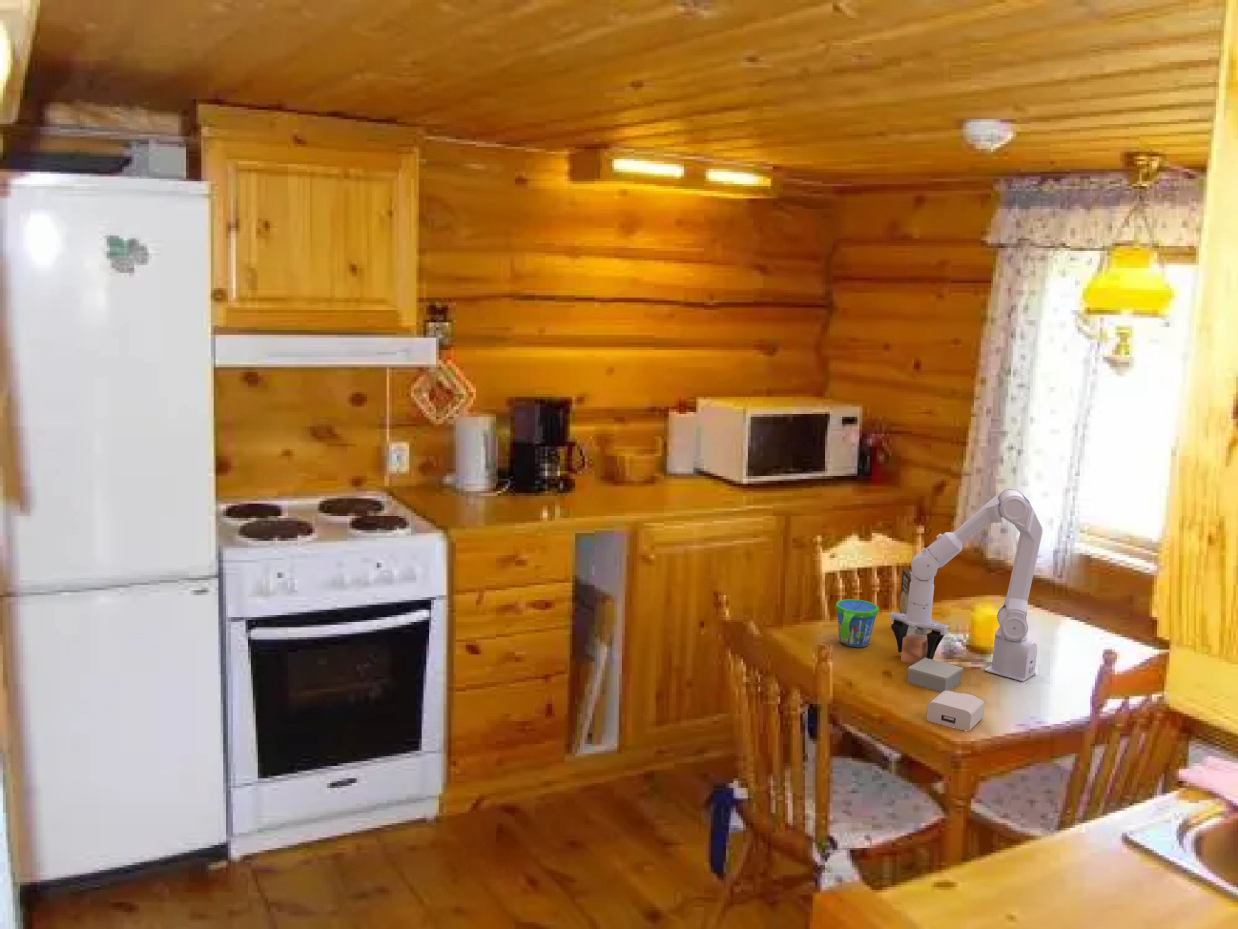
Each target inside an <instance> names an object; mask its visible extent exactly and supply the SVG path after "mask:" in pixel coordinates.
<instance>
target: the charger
mask: <svg viewBox="0 0 1238 929" xmlns="http://www.w3.org/2000/svg"><path fill="white" fill-rule="evenodd" d="M984 711H985V702H984V700H982V699H981V698H978V697H977V696H976V695H973V694H969V693H965V692H964V693H959V692H955V691H952V690H949V691H943V692H940V693H939V694H938V695H937V696H936V697H934V698H932V700H931V701H930V702H928V704H927V711H926V712H927V713H926V720H927V721H928V722H929V721H930V723H933V722H934V723H933V724H936V723H937V725H940V724H943V725H942V726H944V725H946V726H945V727H947V726H950V727H949V728H951V727H955V728H958V729H961V730H960V731H962V730H967V731H968V732H970V730H971V729H972V728H974V727H975V726H976V725H977V724H978V723H979V722H981V720H982V719H983V718H984V713H985V712H984ZM958 729H957V730H958Z"/></svg>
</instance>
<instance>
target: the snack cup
mask: <svg viewBox="0 0 1238 929" xmlns="http://www.w3.org/2000/svg"><path fill="white" fill-rule="evenodd" d="M834 607H835V610H836V613H837V627H838V638H839V643H841V644H843V645H844V646H847V647H853V648H865V647H867V646H868V645H869V644H870V642H871V638H872V633H873V631H874V630H873V629H874V627H875V622H876V617H877V615H878V613H879V610H880V608H879V607H878V605H877V604H875V603H873V602H871V601H867V600H862V599H857V598H855V599H851V598H850V599H849V598H847V599H841V600H838V601H837V602H835V606H834Z"/></svg>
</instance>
